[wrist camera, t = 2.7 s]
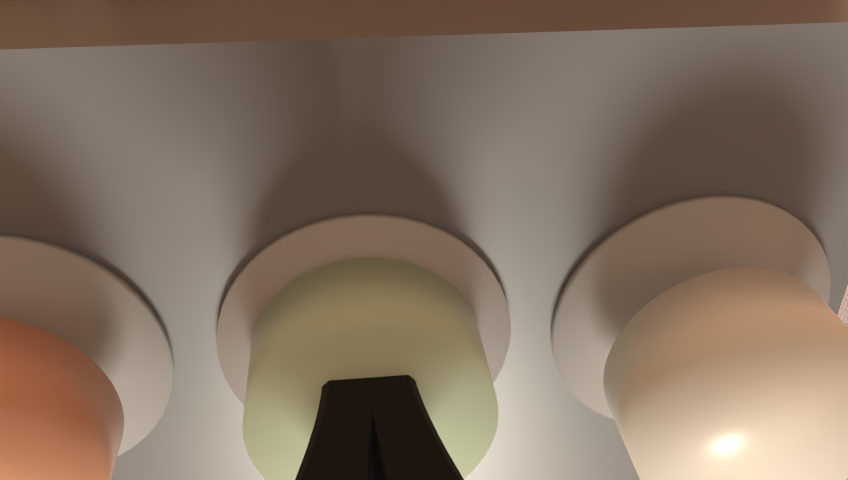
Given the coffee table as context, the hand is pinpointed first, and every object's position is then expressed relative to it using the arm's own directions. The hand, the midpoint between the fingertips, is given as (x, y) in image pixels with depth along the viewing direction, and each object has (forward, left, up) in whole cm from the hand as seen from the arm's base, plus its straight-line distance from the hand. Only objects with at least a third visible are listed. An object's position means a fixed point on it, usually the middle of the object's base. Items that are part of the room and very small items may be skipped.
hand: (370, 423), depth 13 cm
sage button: (0, 0, -2) cm, 2 cm away
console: (0, 0, -5) cm, 5 cm away
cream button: (-6, 0, -1) cm, 6 cm away
